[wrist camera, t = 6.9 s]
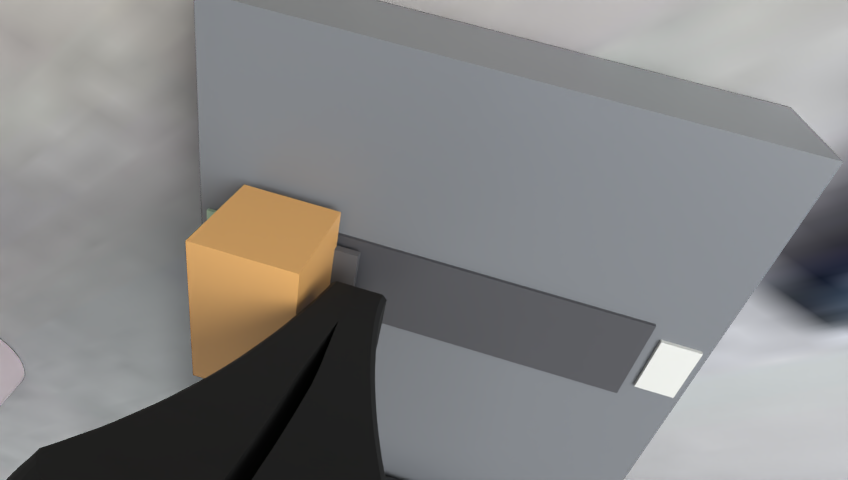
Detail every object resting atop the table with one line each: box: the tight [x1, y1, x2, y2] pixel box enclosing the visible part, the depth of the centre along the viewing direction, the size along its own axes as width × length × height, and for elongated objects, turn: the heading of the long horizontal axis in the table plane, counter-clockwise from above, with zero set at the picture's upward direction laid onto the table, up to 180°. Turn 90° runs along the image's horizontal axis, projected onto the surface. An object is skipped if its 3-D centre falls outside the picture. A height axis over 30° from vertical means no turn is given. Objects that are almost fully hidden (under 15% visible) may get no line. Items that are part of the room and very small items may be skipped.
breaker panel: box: [194, 0, 843, 480], centre depth 19 cm, size 13×24×4 cm, turn 168°
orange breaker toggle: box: [186, 185, 361, 378], centre depth 13 cm, size 4×4×2 cm
